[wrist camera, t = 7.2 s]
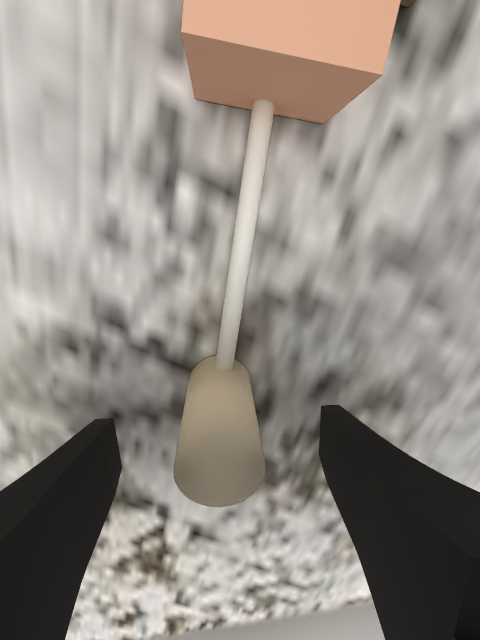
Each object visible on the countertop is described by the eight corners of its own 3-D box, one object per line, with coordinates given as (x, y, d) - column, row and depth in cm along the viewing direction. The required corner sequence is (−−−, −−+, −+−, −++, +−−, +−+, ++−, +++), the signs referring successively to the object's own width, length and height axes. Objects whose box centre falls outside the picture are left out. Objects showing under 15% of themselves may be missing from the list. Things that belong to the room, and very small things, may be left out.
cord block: (356, -38, 10) (478, -258, 5) (264, 414, 15) (286, 511, 10) (212, -73, 10) (206, -350, 5) (164, 404, 15) (137, 501, 10)
